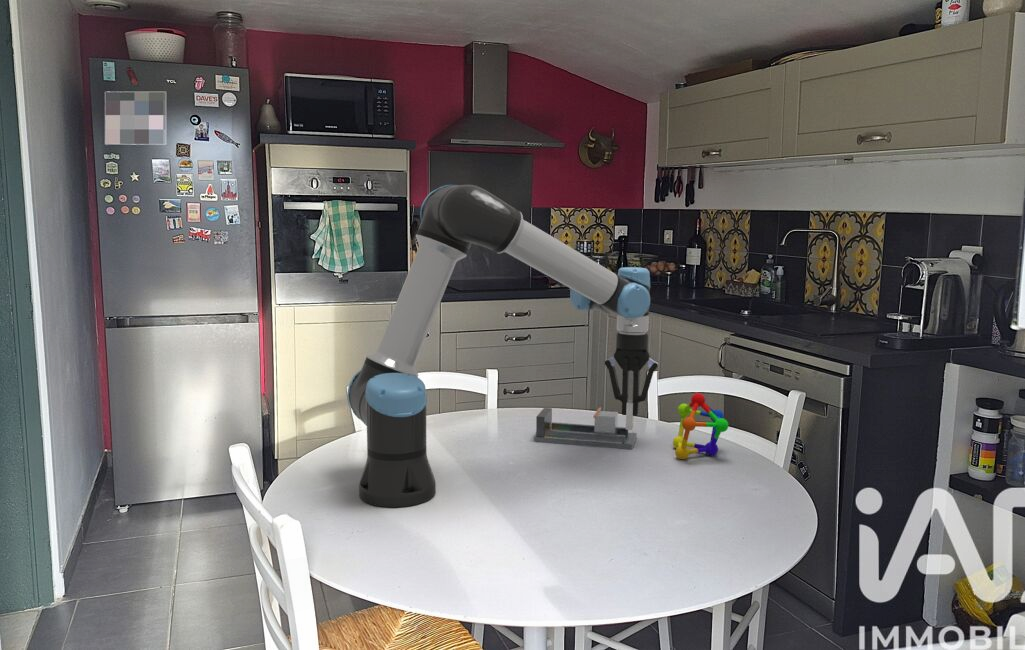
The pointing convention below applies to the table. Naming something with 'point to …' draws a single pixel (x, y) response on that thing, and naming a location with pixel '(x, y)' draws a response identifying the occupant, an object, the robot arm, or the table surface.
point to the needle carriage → (606, 422)
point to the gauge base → (579, 433)
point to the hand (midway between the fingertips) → (629, 428)
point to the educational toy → (690, 425)
